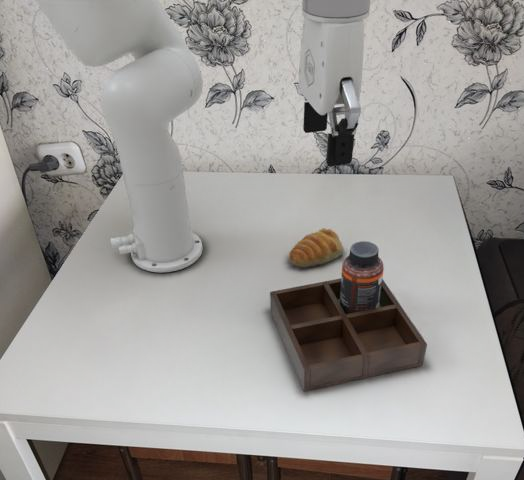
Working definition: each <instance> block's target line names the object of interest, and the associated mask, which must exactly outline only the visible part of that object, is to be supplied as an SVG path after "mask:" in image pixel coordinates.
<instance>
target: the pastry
mask: <svg viewBox="0 0 524 480" xmlns="http://www.w3.org/2000/svg"><path fill="white" fill-rule="evenodd" d="M342 244H343V243H342V241H341V240H340V237H339V235H338V234H337V232H336V231H334V230H332V229H330V228H323V227H322V229H319V230H318V231H316V232H311V233H310V234H306V235H305V236H304V237H303V238H302V239H301V240H299V241H298V242H297V243H296V244H295V245H294V247H292V249H291V250H290V251H289V263H291V264H292V265H294V266H297V267H300V268H305V269H306V268H311V267H313V266H322V265H323V264H326V263H329V262H331V261H332V260H336V259H338V258H339V257H340V256H341V255H342V253H343V252H344V246H343V245H342Z"/></svg>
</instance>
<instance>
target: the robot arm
mask: <svg viewBox="0 0 524 480" xmlns="http://www.w3.org/2000/svg"><path fill="white" fill-rule="evenodd" d="M34 1H35V2H36V4H37V5H38V6H39V8H40V10H42V12H43V13H44V15H45V17H46V18H47V19H48V21H49V22H50V24H51V25H52V27H53V28H54V29H55V30H56V32H57V33H58V35H59V36H60V38H61V40H63V41H64V44H65V45H66V46H67V48H68V49H69V50H70V51H71V53H72V54H73V55H74V56H75V58H76V59H78V61H80V62H81V63H82V64H83V65H85V66H87V67H93V68H98V67H102V66H105V65H108V64H111V63H113V62H116V61H117V60H119V59H121V58H122V57H125V56H126V55H129V54H131V56H132V57H133V58H134V60H133V61H131V62H129V63H127V64H126V65H124V66H122V67H120V68H118V69H117V70H116V71H114V72H113V73H112V74H111V75H109V77H108V78H107V79H106V81H105V82H104V83H103V85H102V88H101V91H100V97H99V98H100V99H99V102H100V109H101V112H102V115H103V117H104V120H105V122H106V125H107V127H108V129H109V131H110V133H111V134H110V135H111V136H112V139H113V142H114V145H115V148H116V151H117V155H118V159H119V163H120V168H121V173H122V176H123V181H124V185H125V189H126V195H127V200H128V204H129V209H130V212H131V214H130V215H131V218H132V222H133V227H132V230H133V231H132V232H131V233H127V235H125V236H116V237H111V238H109V240H110V245H111V249H112V250H118V251H119V255H126V254H128V253H129V254H130V255H131V260H132V262H133V263H134V264H135V265H136V267H138V268H140V269H142V270H144V271H148V272H153V273H172V272H177V271H180V270H183V269H186V268H188V267H189V266H191V265H193V264H194V263H195V262H197V261H198V260H199V258H200V257H201V256H202V254H203V249H204V248H203V242H202V239H201V238H200V236H199V235H198V234H196V233H195V232H193V231H192V225H191V219H190V211H189V205H188V204H189V203H188V197H187V189H186V182H185V181H186V180H185V176H184V175H185V174H184V167H183V162H182V156H181V152H180V149H179V146H178V144H177V143H176V141H175V140H174V139H173V137H172V135H171V133H170V132H169V124H170V123H171V122H172V121H174V120H175V119H176V118H177V117H179V116H181V115H182V114H184V113H185V112H186V111H188V110H189V109H191V108H192V107H193V106H194V105H196V103H197V102H198V101H199V100H200V98H201V95H202V92H203V86H204V85H203V83H204V81H203V75H202V73H201V72H202V71H201V69H200V66H199V64H198V61H197V59H196V58H195V56H194V55H193V53H192V51H191V50H190V48H189V46H188V45H187V43H186V42H185V40H184V38H183V36H182V35H181V34H180V32H179V30H178V28H177V27H176V25H175V24H174V22H173V20H172V19H171V17H170V16H169V15H168V12H167V10H166V9H165V8H164V6H163V5H162V3H161V2H160V0H34ZM371 1H372V0H302V4H301V7H302V8H301V14H302V16H303V23H302V31H301V41H300V53H299V67H298V68H299V69H298V89H299V91H300V92H301V94H302V95H303V99H304V103H303V125H302V126H303V127H302V128H303V129H302V131H304V133H306V134H310V133H318V132H325V131H326V130H327V129H328V120H329V126H330V133H328V134H327V143H326V159H325V163H326V165H327V166H328V167H335V166H343V165H349V164H351V163H352V161H353V152H354V143H355V135H356V134H357V128H358V126H359V119H360V116H361V113H362V107H361V105H360V98H361V92H362V90H361V89H362V82H363V81H362V80H363V66H364V47H365V46H364V44H365V43H364V42H365V41H364V40H365V21H364V20H366V19H368V18H369V16H370V12H371V11H370V10H371ZM336 105H344V106H338V107H336ZM341 115H342V116H343V115H344V118H341V119H340V121H339V122H338V117H337V116H341Z"/></svg>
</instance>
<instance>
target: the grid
mask: <svg viewBox="0 0 524 480" xmlns="http://www.w3.org/2000/svg"><path fill="white" fill-rule="evenodd" d="M340 292H341V278H335V279H329V280H324V281H318V282H314V283H309V284H303V285H299V286H298V285H297V286H293V287H288V288H282V289H278V290H273V291H270V292H269V303H270V305H269V306H270V314H271V317H272V319H273V321H274V323H275V326H276V329H277V331H278V333H279V335H280V338H281V340H282V342H283V345H284V347H285V349H286V352H287V354H288V356H289V359H290V361H291V364H292V366H293V369H294V371H295V374H296V376H297V378H298V380H299V384H300V385H301V388H302V390H303V392H307V391H308V392H309V391H312V390H316V389H321V388H327V387H330V386H335V385H340V384H344V383H349V382H353V381H357V380H363V379H367V378H371V377H376V376H380V375H386V374H389V373H394V372H398V371H399V372H400V371H403V370H408V369H412V368H418V367H421V366H424V361H425V357H426V351H427V348H428V343H427V342H426V340H425V339H424V337H423V336H422V334H421V333H420V332H419V330H418V329H417V327H416V326H415V324H414V323H413V321H412V320H411V318H410V316H409V315H408V314H407V313H406V311H405V310H404V308H403V306H402V305H401V304H400V303H399V301H398V299H397V298H396V296H395V295H394V293H393V292H392V291H391V289H390V288H389V286H388V285H387V283H386V282H385V280H384V279H383V278H382V286H381V294H380V303H379V308H375V309H370V310H365V311H360V312H355V313H350V314H345V312H344V310H343V309H342V307H341V305H340Z"/></svg>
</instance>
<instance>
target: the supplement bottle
mask: <svg viewBox="0 0 524 480" xmlns="http://www.w3.org/2000/svg"><path fill="white" fill-rule="evenodd" d="M384 267H385V266H384V262H383V260H382V259H381V257H380V256H379V247H378V245H377V244H375V243H374V242H371V241H366V240H365V241H364V240H362V241H357V242H355V243H353V244H352V245H351V246H350V248H349V255H347V256H346V257H345V258H344V259H343V261H342V265H341V292H340V305H341V307H342V309H343V310H344V312H345V314H350V313H355V312H360V311H365V310H370V309H375V308H379V303H380V294H381V286H382V279H383V277H384Z"/></svg>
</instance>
